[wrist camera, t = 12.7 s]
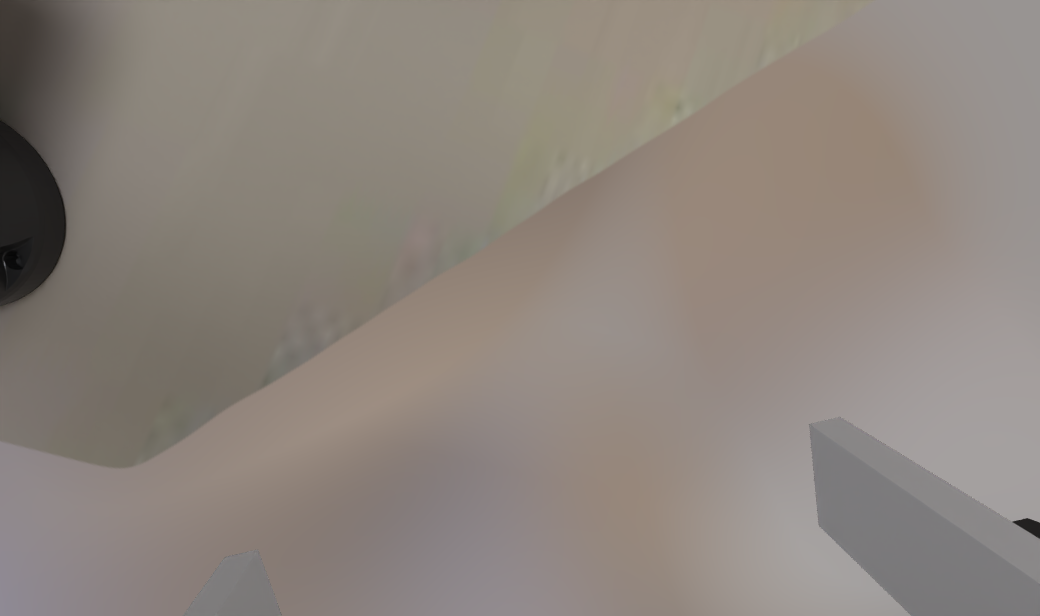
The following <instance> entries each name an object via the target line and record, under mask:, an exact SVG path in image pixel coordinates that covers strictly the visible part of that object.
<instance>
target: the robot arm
mask: <svg viewBox="0 0 1040 616" xmlns="http://www.w3.org/2000/svg"><path fill="white" fill-rule="evenodd" d="M64 226H65V224H64V211H63V206H62V201H61V198H60V194H59V191H58V188H57V186H56V184H55V181H54V179H53V177H52V175H51V173H50V171H49V170H48V168H47V166H46V165H45V163H44V162H43V160H42V159H41V158H40V156H39V155H38V154H37V152H36V151H35V150H34V149H33V148H32V147H31V146H30V145H29V143H27V142H26V141H25V140H24V139H23V138H22V137H21V136H20V135H19V134H18V133H17V132H15V131H14V130H13V129H11V128H10V127H9V126H7V125H6V124H4V123H3V122H1V121H0V305H4V304H7V303H10V302H13V301H15V300H18V299H20V298H22V297H24V296H25V295H27V294H28V293H30V292H31V291H33V290H34V289H35V288H37V287H38V286H39V285H40V284H41V283H42V282H43V281H44V280H45V279H46V277H47V276H48V275H49V273H50V272H51V270H52V269H53V267H54V266H55V264H56V262H57V259H58V257H59V255H60V251H61V248H62V244H63V239H64ZM809 427H810V438H811V448H812V459H813V470H814V481H815V491H816V502H817V511H818V523H819V526H820V527H821V528H822V529H823V530H824V531H825V532H826V533H827V534H828V535H829V536H830V537H831V538H832V539H833V540H834V541H836V543H837V544H838V545H839V546H840V547H841V548H842V549H844V551H846V552H847V553H848V554H849V555H850V556H851V557H852V558H853V559H854V560H855V561H856V562H857V563H858V564H859V565H860V566H861V567H862V568H863V569H864V570H865V571H866V572H867V573H868V574H869V575H870V576H871V577H872V578H873V579H874V580H875V581H876V582H877V583H878V584H879V585H880V586H881V587H883V589H885V590H886V591H887V592H888V593H889V594H890V595H891V596H892V597H893V598H894V599H895V600H896V601H897V602H898V603H899V604H900V605H901V606H902V607H903V608H904V609H905V610H906V611H907V612H908V613H909V614H910V615H911V616H1040V523H1039V522H1036V521H1034V520H1031V519H1028V518H1026V519H1022V520H1018V521H1013V522H1011V521H1010V520H1008V519H1006V518H1004V517H1003V516H1001V515H1000V514H998V513H996V512H995V511H993V510H991V509H990V508H988V507H987V506H985V505H983V504H982V503H980V502H979V501H977V500H975V499H973V498H972V497H970V496H968V495H967V494H966V493H964V492H962V491H960V490H959V489H957V488H956V487H954V486H952V485H951V484H949V483H948V482H946V481H944V480H943V479H941V478H939V477H938V476H936V475H934V474H933V473H931V472H930V471H928V470H926V469H925V468H923V467H921V466H920V465H918V464H916V463H915V462H913V461H912V460H910V459H908V458H907V457H905V456H903V455H902V454H900V453H899V452H897V451H895V450H893V449H892V448H890V447H889V446H887V445H886V444H884V443H882V442H881V441H879V440H877V439H876V438H874V437H872V436H871V435H869V434H867V433H866V432H864V431H863V430H861V429H859V428H858V427H856V426H854V425H853V424H851V423H850V422H848V421H846V420H844V419H843V418H841V417H838V418H834V419H829V420H825V421H820V422H816V423H811V424H809ZM183 616H282V614H281V612H280V609H279V606H278V603H277V601H276V598H275V595H274V593H273V590H272V587H271V584H270V581H269V579H268V576H267V573H266V570H265V568H264V565H263V562H262V559H261V557H260V554H259V551H258V550H254V551H250V552H245V553H241V554H236V555H232V556H228V557H225V558H224V559H223V560H222V562H221V563H220V565H219V566H218V567H217V569H216V570H215V572H214V573H213V575H212V576H211V577H210V579H209V580H208V581H207V583H206V584H205V586H204V587H203V589H202V590H201V591H200V593H199V594H198V596H197V597H196V598H195V600H194V601H193V602H192V604H191V605H190V607H189V608H188V609H187V611H186V612H185V614H184V615H183Z"/></svg>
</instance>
